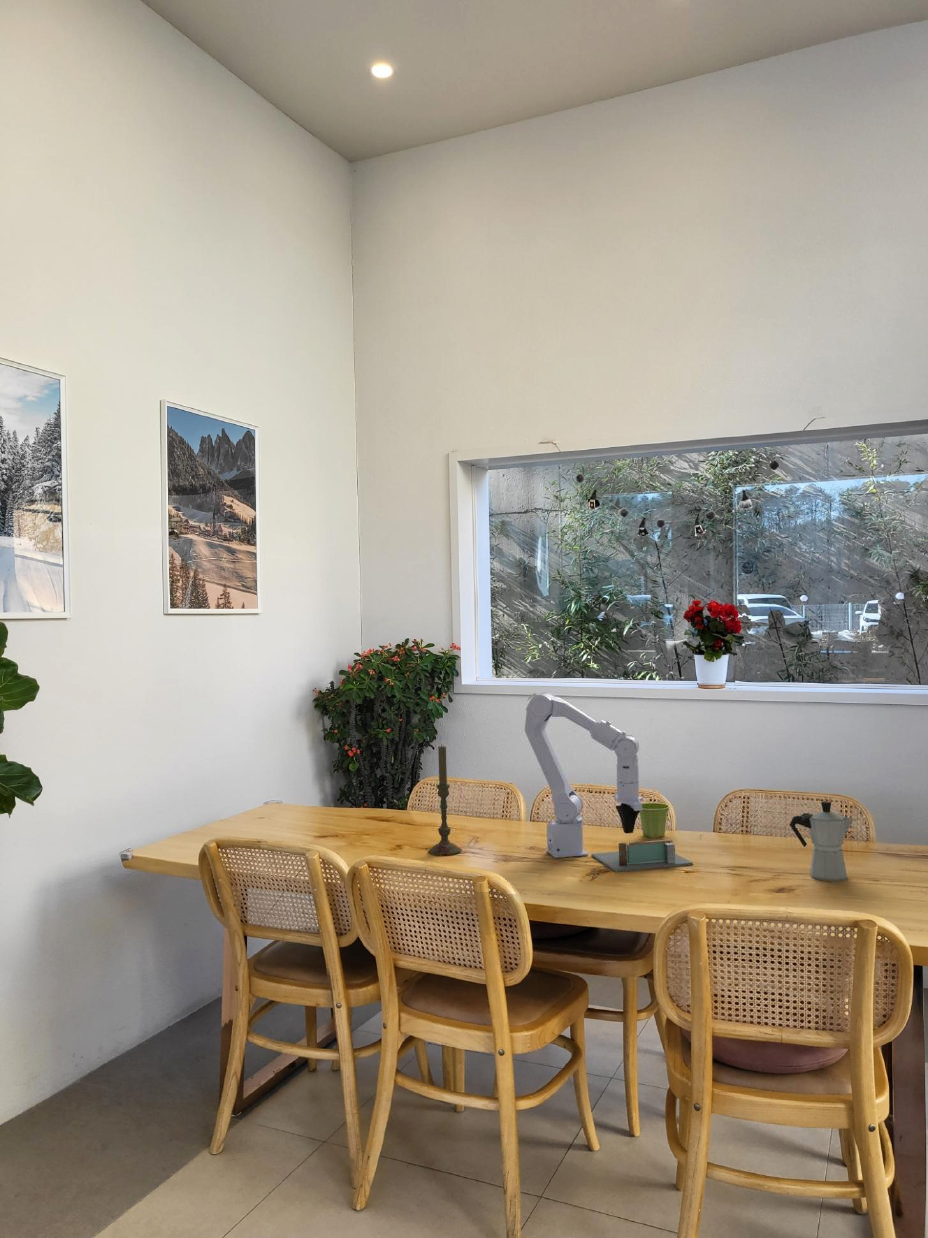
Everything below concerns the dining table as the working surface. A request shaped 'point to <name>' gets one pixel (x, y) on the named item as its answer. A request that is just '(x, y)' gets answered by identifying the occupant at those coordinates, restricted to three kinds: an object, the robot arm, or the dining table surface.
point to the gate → (646, 851)
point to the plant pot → (654, 819)
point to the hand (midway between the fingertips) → (628, 832)
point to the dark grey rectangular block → (669, 853)
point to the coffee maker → (825, 842)
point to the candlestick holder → (443, 811)
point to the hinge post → (622, 854)
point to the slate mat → (613, 863)
